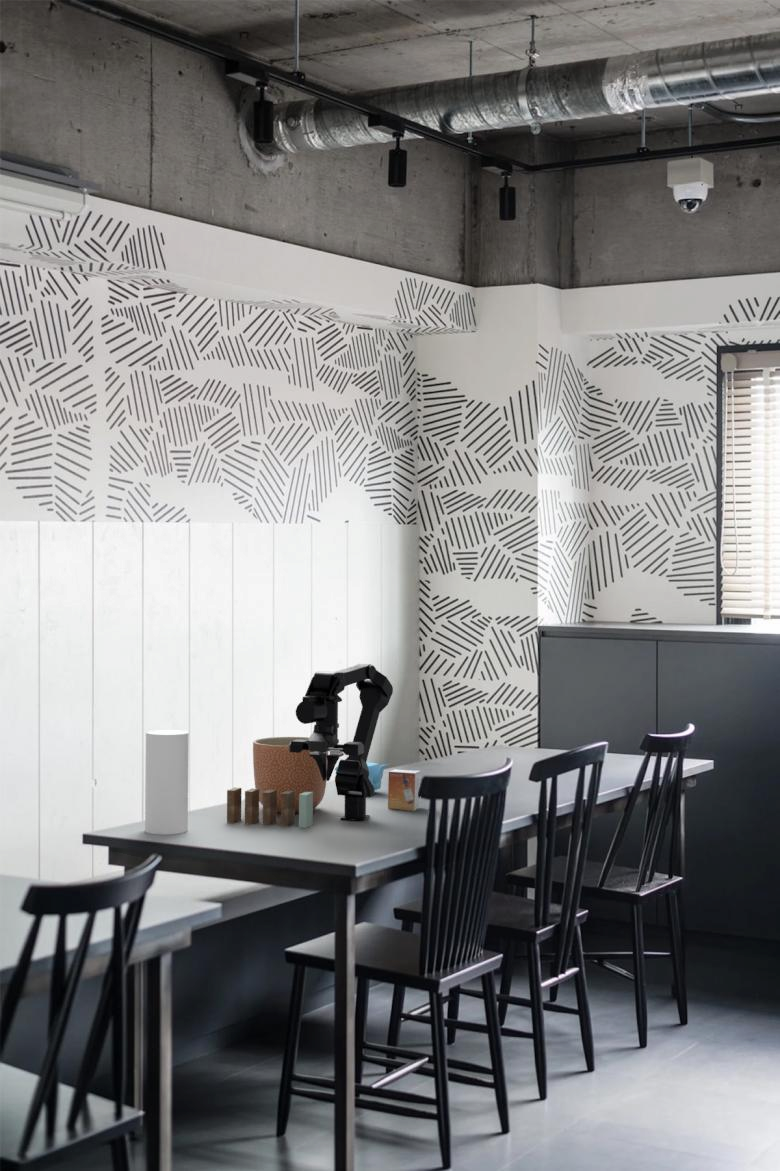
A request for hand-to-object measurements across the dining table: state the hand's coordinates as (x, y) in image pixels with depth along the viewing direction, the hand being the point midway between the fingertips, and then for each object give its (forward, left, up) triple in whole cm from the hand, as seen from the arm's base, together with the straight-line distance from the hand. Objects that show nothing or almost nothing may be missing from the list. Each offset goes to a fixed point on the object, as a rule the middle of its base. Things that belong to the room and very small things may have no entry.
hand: (326, 780), depth 370 cm
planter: (-21, -17, -12) cm, 30 cm away
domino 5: (0, -5, -12) cm, 13 cm away
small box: (-34, +12, -12) cm, 38 cm away
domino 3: (0, -15, -12) cm, 20 cm away
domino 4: (0, -10, -12) cm, 16 cm away
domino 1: (0, -25, -12) cm, 28 cm away
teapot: (-56, -7, -12) cm, 58 cm away
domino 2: (0, -20, -12) cm, 24 cm away
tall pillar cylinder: (+18, -36, -12) cm, 42 cm away
